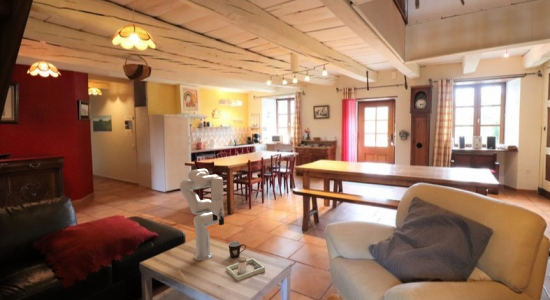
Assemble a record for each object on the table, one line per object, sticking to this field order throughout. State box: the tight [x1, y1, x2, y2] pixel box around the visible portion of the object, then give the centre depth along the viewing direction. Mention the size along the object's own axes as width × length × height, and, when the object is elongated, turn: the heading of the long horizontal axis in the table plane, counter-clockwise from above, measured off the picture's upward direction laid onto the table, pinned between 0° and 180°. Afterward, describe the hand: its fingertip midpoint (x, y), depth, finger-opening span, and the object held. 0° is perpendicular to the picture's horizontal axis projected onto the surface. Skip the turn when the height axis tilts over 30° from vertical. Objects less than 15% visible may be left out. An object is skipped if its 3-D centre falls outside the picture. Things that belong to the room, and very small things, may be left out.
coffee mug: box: [228, 240, 247, 259], centre depth 200 cm, size 12×9×10 cm
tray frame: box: [225, 257, 266, 282], centre depth 182 cm, size 15×20×3 cm
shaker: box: [237, 256, 247, 275], centre depth 180 cm, size 5×5×9 cm
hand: (218, 222), depth 180 cm, fingers open, 9 cm apart
